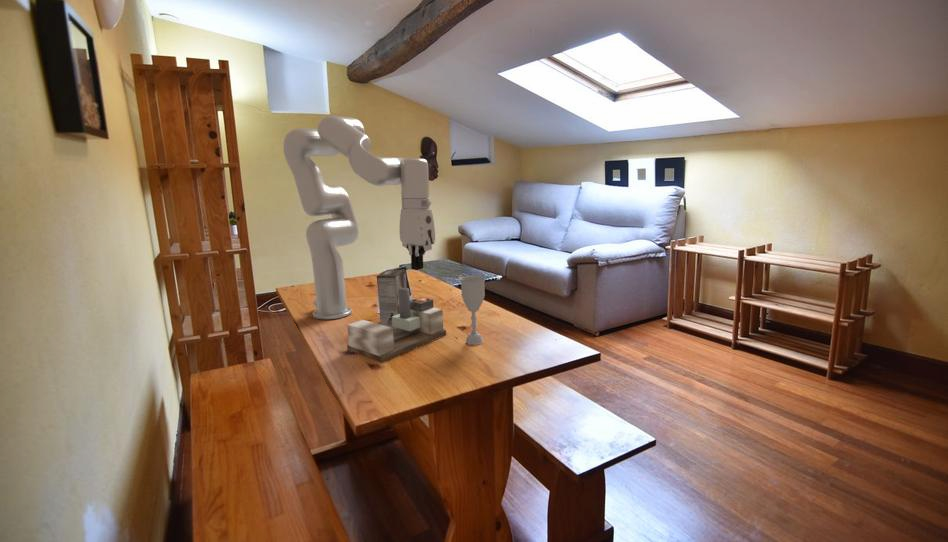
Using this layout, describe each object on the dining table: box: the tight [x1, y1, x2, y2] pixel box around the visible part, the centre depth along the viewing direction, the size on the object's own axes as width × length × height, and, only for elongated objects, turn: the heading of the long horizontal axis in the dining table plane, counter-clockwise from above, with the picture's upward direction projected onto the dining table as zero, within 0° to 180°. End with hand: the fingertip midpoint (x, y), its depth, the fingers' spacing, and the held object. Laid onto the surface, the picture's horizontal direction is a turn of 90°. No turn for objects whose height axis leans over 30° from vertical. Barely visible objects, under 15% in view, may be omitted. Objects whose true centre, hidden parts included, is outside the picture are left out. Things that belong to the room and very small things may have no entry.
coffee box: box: [376, 269, 408, 328], centre depth 151 cm, size 9×6×16 cm
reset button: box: [414, 297, 427, 303], centre depth 141 cm, size 3×3×2 cm
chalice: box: [458, 274, 487, 346], centre depth 133 cm, size 7×7×18 cm
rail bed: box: [346, 296, 447, 363], centre depth 135 cm, size 14×24×10 cm, turn 141°
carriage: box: [391, 287, 420, 331], centre depth 136 cm, size 7×4×11 cm, turn 51°
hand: (417, 268), depth 139 cm, fingers closed
